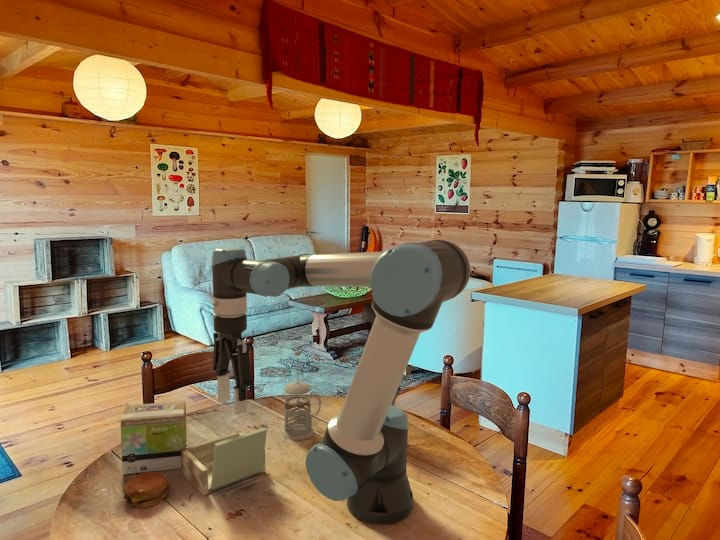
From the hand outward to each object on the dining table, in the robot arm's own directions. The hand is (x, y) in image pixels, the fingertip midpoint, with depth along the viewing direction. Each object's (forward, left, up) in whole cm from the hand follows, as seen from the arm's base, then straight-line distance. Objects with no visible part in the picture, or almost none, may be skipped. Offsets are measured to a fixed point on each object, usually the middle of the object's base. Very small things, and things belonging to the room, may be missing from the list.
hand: (232, 406), depth 123 cm
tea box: (+20, +11, -20) cm, 31 cm away
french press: (+11, -28, -19) cm, 36 cm away
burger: (+6, +18, -20) cm, 28 cm away
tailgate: (-4, 0, -12) cm, 13 cm away
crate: (+5, 0, -19) cm, 20 cm away
